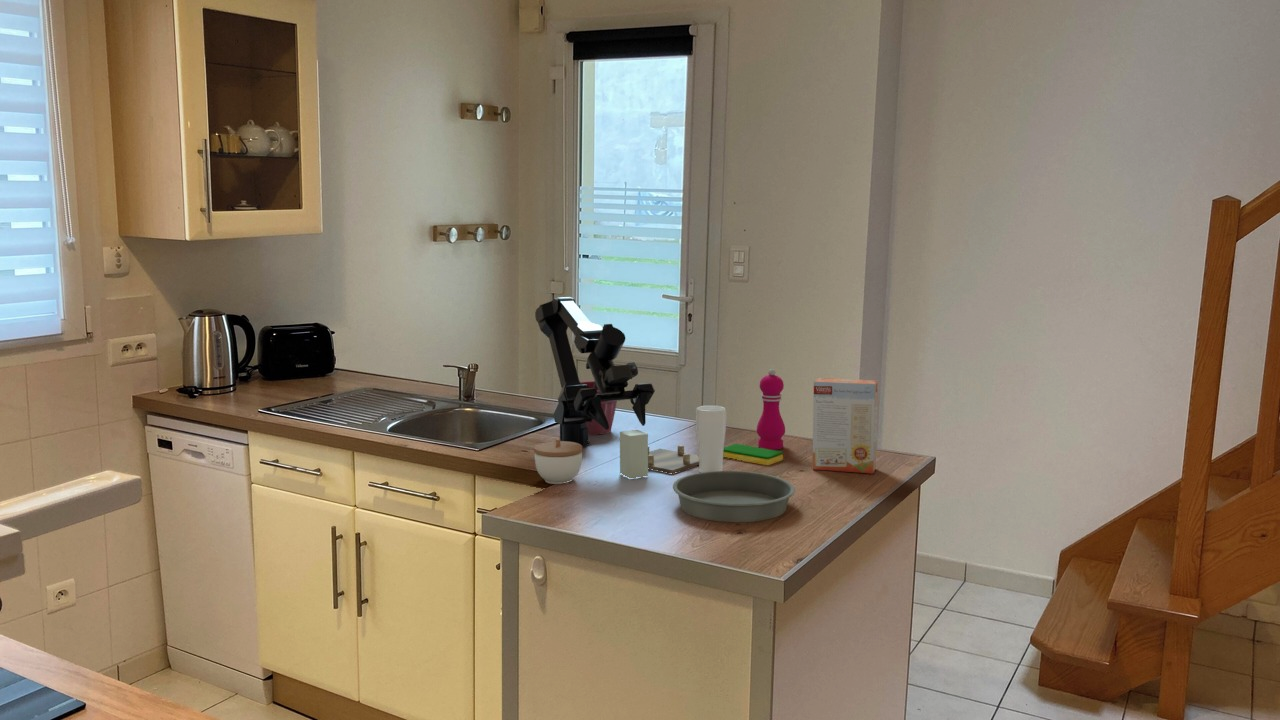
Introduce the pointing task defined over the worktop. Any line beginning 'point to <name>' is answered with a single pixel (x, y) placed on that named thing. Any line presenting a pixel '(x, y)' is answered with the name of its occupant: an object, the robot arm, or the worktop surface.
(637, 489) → the worktop surface
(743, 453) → the dish sponge
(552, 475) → the lidded jar
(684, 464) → the peg stand
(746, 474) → the cake pan
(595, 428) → the plant pot
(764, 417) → the pepper mill
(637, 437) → the sage block
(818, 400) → the cracker box
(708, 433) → the drinking glass
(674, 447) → the worktop surface
